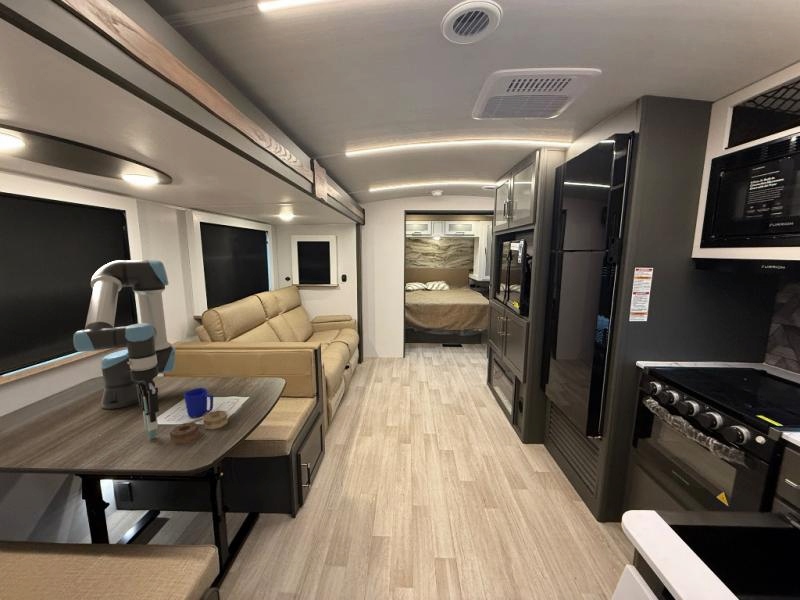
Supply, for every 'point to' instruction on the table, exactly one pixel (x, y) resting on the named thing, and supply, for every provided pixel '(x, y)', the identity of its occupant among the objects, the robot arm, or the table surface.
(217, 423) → the maple bead
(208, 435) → the table surface
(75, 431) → the table surface
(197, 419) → the thin beige rod
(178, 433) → the walnut bead
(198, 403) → the mug
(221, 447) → the table surface
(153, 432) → the teal rod
